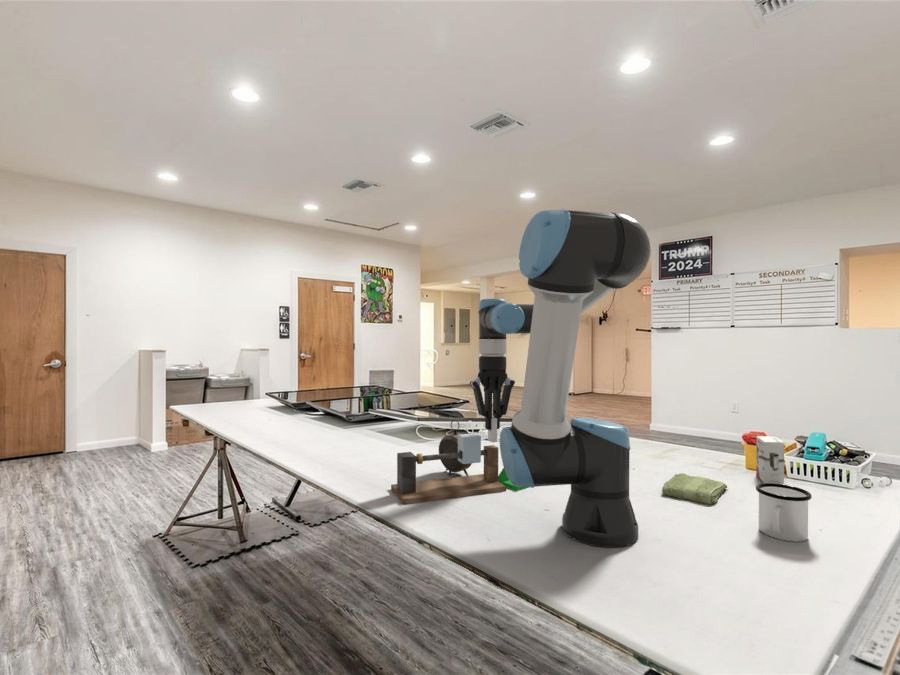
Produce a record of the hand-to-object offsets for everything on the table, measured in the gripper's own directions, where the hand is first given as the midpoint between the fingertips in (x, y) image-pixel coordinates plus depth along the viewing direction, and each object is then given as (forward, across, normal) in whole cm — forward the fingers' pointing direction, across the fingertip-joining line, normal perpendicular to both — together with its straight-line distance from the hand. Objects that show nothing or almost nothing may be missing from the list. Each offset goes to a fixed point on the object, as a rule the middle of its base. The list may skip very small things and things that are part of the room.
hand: (492, 441), depth 129 cm
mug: (+12, -41, +51) cm, 66 cm away
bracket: (+13, -8, +1) cm, 15 cm away
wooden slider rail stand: (+12, +13, 0) cm, 18 cm away
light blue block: (+5, +7, 0) cm, 8 cm away
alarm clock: (+12, +6, -12) cm, 18 cm away
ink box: (+12, -76, +24) cm, 80 cm away
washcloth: (+13, -47, +24) cm, 54 cm away
